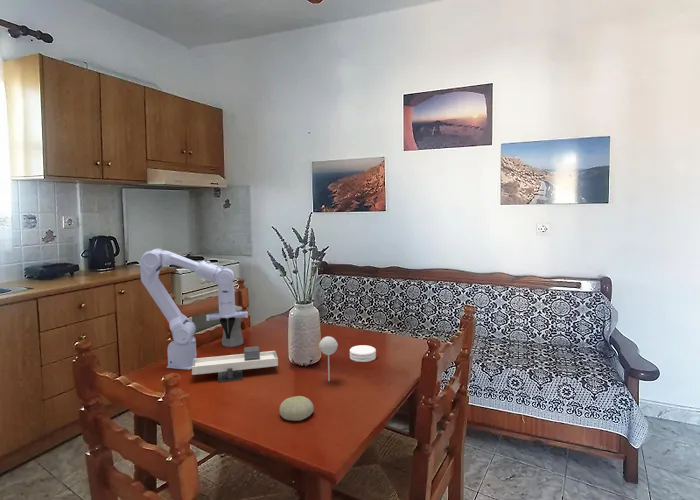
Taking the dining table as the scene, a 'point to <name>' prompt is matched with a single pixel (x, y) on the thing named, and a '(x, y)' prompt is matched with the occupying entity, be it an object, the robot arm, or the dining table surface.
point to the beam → (232, 363)
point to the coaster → (362, 353)
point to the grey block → (251, 353)
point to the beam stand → (230, 375)
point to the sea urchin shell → (296, 408)
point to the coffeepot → (234, 332)
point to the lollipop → (328, 348)
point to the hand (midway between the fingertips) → (228, 338)
